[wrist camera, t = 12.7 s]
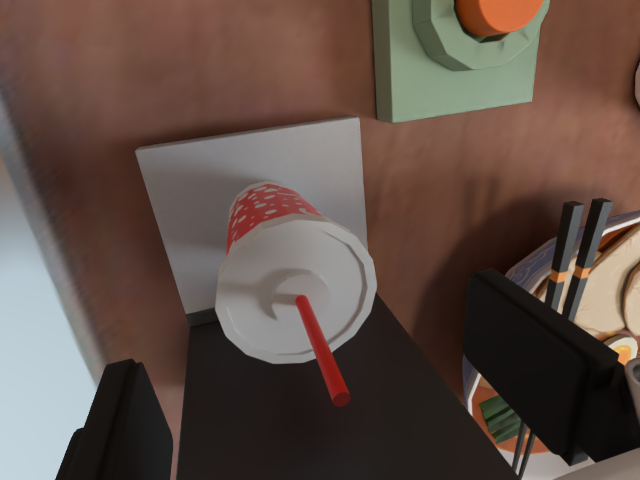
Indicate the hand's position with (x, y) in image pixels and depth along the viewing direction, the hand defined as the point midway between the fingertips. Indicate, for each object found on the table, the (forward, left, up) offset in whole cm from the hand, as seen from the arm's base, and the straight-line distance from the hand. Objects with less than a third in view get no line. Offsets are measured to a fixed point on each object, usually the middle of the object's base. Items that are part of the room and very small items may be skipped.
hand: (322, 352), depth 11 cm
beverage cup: (0, 0, -13) cm, 13 cm away
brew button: (-10, +12, -10) cm, 18 cm away
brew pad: (-10, +12, -14) cm, 21 cm away
